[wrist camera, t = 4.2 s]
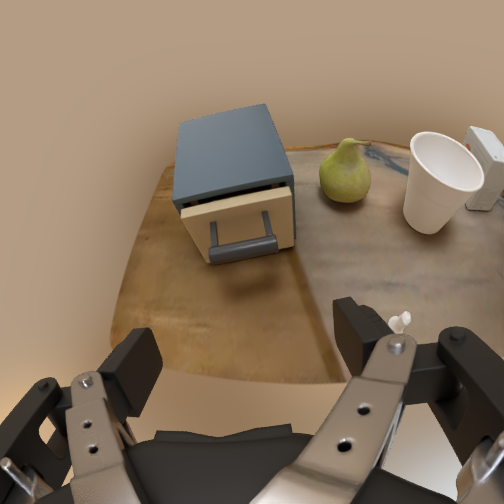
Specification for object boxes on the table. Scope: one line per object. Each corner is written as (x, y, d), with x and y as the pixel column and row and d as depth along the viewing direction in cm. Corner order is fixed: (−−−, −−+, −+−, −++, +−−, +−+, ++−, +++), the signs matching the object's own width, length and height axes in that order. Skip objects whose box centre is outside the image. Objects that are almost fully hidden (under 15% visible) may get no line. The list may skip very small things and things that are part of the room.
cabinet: (295, 237, 33) (293, 174, 24) (203, 256, 34) (171, 200, 25) (273, 161, 41) (265, 103, 32) (200, 177, 42) (179, 122, 33)
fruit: (350, 172, 38) (358, 103, 28) (377, 208, 34) (397, 137, 24) (310, 184, 38) (310, 111, 27) (335, 223, 34) (345, 148, 23)
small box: (490, 212, 31) (518, 166, 22) (466, 210, 31) (494, 160, 22) (472, 176, 35) (492, 130, 26) (449, 173, 35) (468, 124, 27)
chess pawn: (386, 315, 27) (398, 303, 23) (403, 317, 26) (416, 304, 23) (385, 338, 25) (398, 329, 22) (402, 340, 25) (416, 330, 22)
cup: (377, 199, 35) (393, 135, 25) (426, 185, 35) (447, 128, 25) (413, 258, 29) (449, 199, 20) (462, 236, 30) (497, 182, 20)
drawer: (302, 280, 29) (304, 234, 22) (209, 298, 30) (180, 259, 22) (272, 169, 39) (265, 119, 31) (202, 184, 39) (184, 137, 32)
